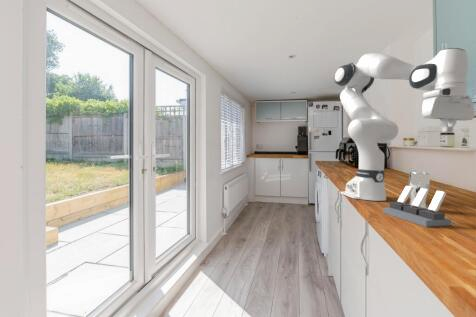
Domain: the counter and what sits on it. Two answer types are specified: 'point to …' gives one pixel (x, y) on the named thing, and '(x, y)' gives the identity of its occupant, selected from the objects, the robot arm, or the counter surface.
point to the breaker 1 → (405, 194)
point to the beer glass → (418, 185)
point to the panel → (417, 215)
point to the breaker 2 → (420, 197)
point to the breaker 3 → (436, 201)
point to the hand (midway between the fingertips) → (447, 131)
